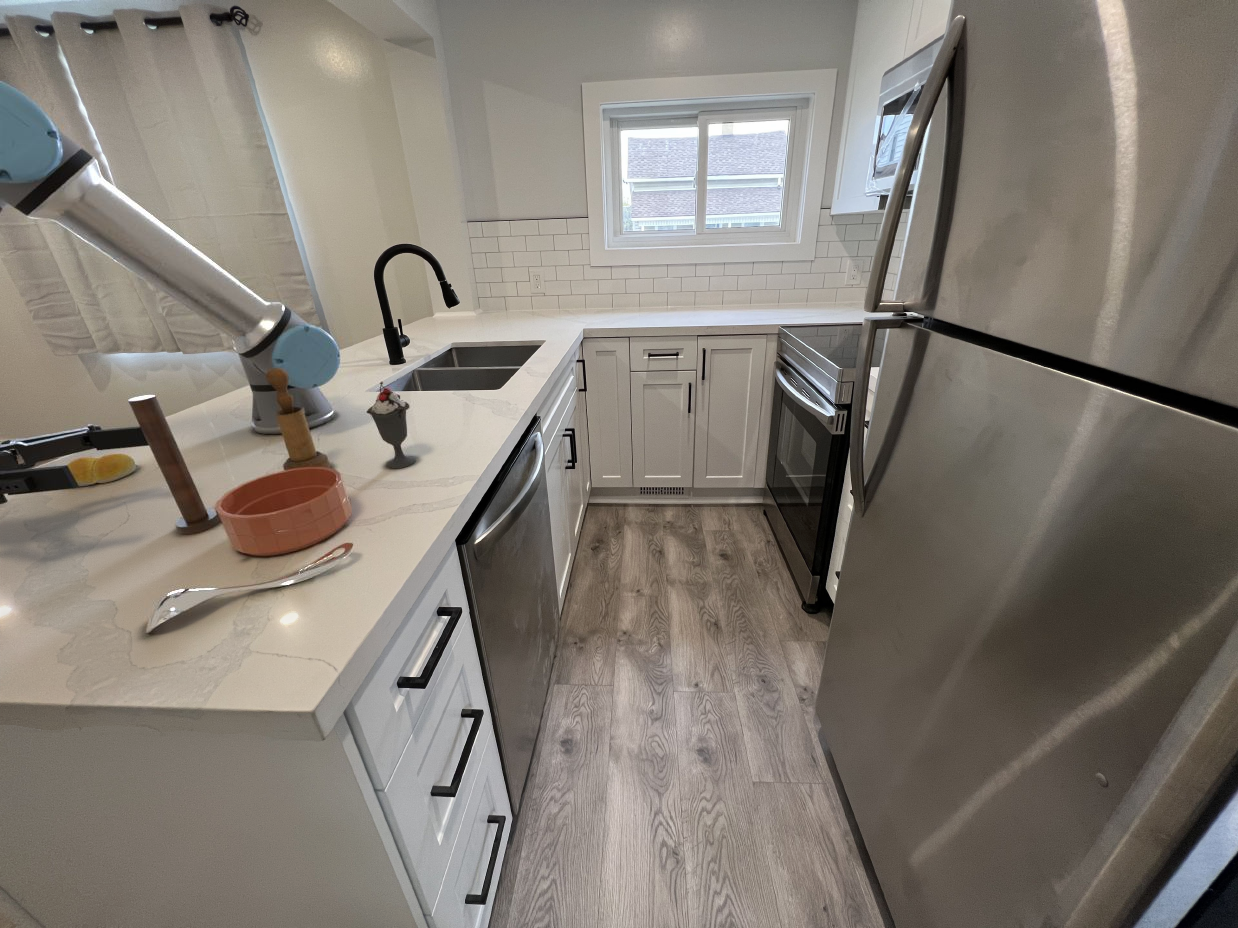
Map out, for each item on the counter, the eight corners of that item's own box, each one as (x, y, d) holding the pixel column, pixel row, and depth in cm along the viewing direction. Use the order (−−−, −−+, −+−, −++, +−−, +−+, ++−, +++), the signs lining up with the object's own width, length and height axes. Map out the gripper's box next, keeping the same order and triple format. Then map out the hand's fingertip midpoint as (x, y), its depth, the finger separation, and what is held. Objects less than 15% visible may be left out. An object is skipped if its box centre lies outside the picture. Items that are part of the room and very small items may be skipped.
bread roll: (130, 479, 85) (119, 458, 83) (60, 492, 81) (47, 470, 80) (145, 462, 92) (136, 442, 90) (81, 473, 88) (70, 452, 86)
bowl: (262, 509, 73) (248, 473, 71) (364, 497, 75) (354, 462, 73) (209, 566, 60) (189, 524, 58) (334, 550, 63) (320, 508, 60)
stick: (191, 518, 72) (133, 394, 64) (227, 514, 72) (174, 390, 64) (170, 536, 67) (105, 405, 59) (209, 531, 68) (150, 401, 60)
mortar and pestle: (310, 482, 81) (274, 374, 74) (277, 480, 82) (238, 373, 75) (339, 465, 87) (308, 363, 79) (307, 463, 88) (274, 363, 81)
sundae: (397, 474, 83) (375, 386, 76) (372, 466, 86) (349, 381, 80) (429, 459, 88) (411, 376, 81) (405, 452, 91) (386, 372, 85)
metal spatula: (344, 522, 61) (351, 538, 57) (354, 545, 63) (361, 563, 59) (135, 597, 51) (128, 623, 48) (153, 623, 53) (148, 650, 49)
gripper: (21, 460, 73) (182, 445, 77) (-194, 557, 51) (46, 529, 54) (-8, 412, 70) (161, 398, 74) (-250, 493, 48) (8, 467, 51)
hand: (112, 454), depth 64 cm, fingers open, 13 cm apart
